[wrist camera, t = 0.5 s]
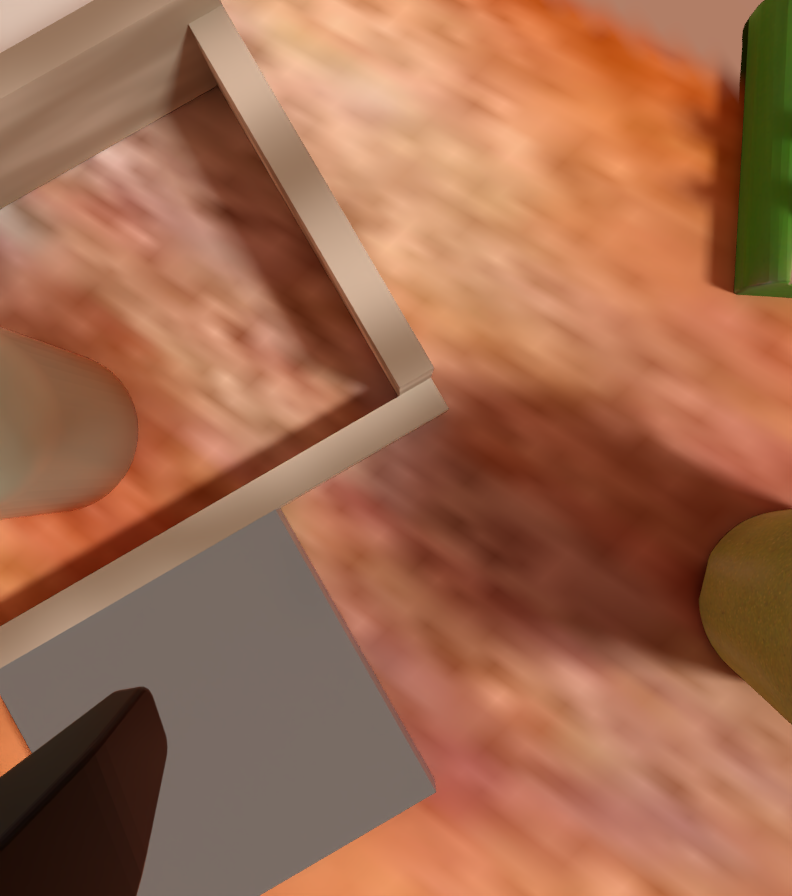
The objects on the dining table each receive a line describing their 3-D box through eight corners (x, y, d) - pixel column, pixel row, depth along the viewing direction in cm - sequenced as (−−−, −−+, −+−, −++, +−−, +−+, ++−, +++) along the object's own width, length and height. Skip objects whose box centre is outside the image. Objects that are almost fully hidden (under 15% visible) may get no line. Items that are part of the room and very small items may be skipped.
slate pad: (434, 779, 21) (436, 791, 20) (155, 943, 21) (145, 962, 20) (276, 501, 21) (271, 502, 20) (0, 660, 21) (-15, 667, 20)
